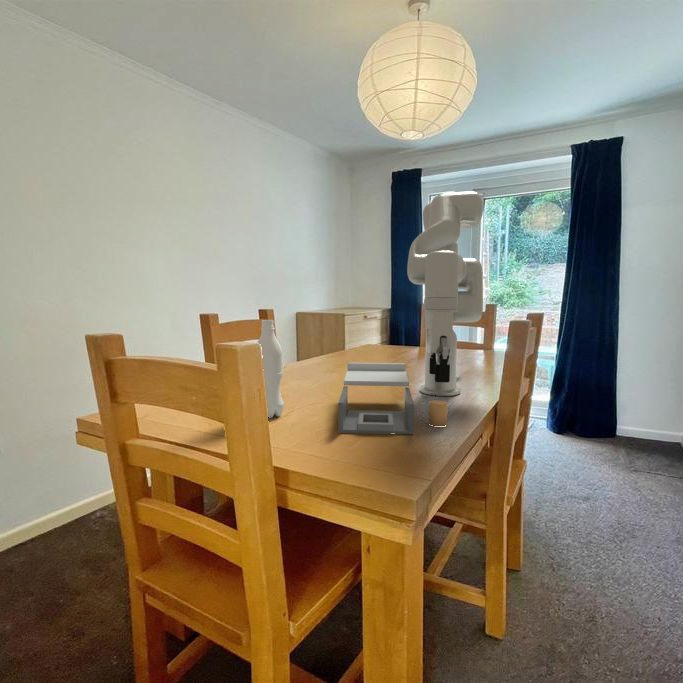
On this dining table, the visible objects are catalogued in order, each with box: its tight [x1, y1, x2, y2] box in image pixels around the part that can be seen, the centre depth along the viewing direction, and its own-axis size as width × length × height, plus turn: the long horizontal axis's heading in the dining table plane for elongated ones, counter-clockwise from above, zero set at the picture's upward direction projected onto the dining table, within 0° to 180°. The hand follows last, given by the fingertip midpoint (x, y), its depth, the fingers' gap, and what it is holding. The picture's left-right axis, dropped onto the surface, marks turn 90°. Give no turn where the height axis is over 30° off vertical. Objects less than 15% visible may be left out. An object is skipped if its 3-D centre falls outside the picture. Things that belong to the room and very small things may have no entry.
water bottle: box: [256, 319, 285, 419], centre depth 105 cm, size 7×7×25 cm
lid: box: [343, 362, 410, 387], centre depth 114 cm, size 15×17×3 cm
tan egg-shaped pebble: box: [427, 399, 449, 426], centre depth 99 cm, size 4×4×6 cm
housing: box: [337, 385, 415, 435], centre depth 100 cm, size 15×17×7 cm
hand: (438, 377), depth 97 cm, fingers open, 9 cm apart
